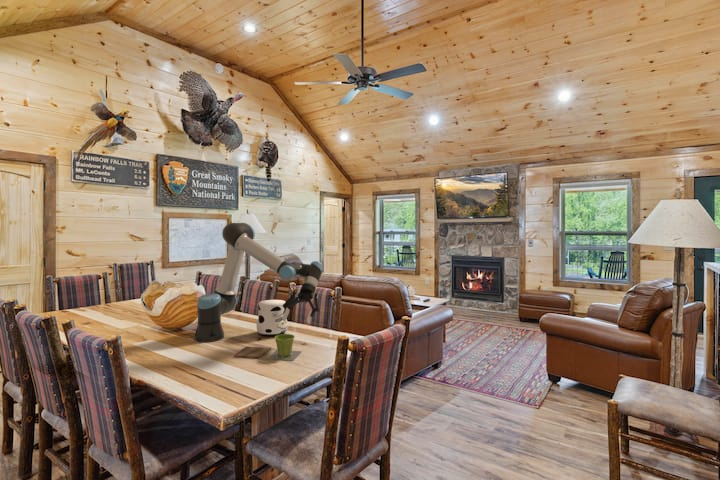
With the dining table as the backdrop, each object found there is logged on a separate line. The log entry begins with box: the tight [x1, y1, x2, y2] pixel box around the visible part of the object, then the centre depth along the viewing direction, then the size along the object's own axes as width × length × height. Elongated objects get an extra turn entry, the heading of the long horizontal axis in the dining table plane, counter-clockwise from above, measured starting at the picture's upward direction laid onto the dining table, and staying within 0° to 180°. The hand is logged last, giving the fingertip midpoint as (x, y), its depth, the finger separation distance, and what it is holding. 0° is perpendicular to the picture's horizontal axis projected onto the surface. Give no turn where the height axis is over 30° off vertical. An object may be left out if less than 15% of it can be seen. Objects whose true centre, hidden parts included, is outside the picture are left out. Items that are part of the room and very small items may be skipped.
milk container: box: [256, 299, 289, 337], centre depth 218 cm, size 17×17×18 cm
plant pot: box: [274, 333, 296, 357], centre depth 181 cm, size 9×9×9 cm
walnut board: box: [233, 345, 272, 360], centre depth 184 cm, size 13×13×1 cm
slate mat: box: [266, 349, 303, 362], centre depth 181 cm, size 13×13×1 cm
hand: (295, 321), depth 190 cm, fingers open, 13 cm apart
